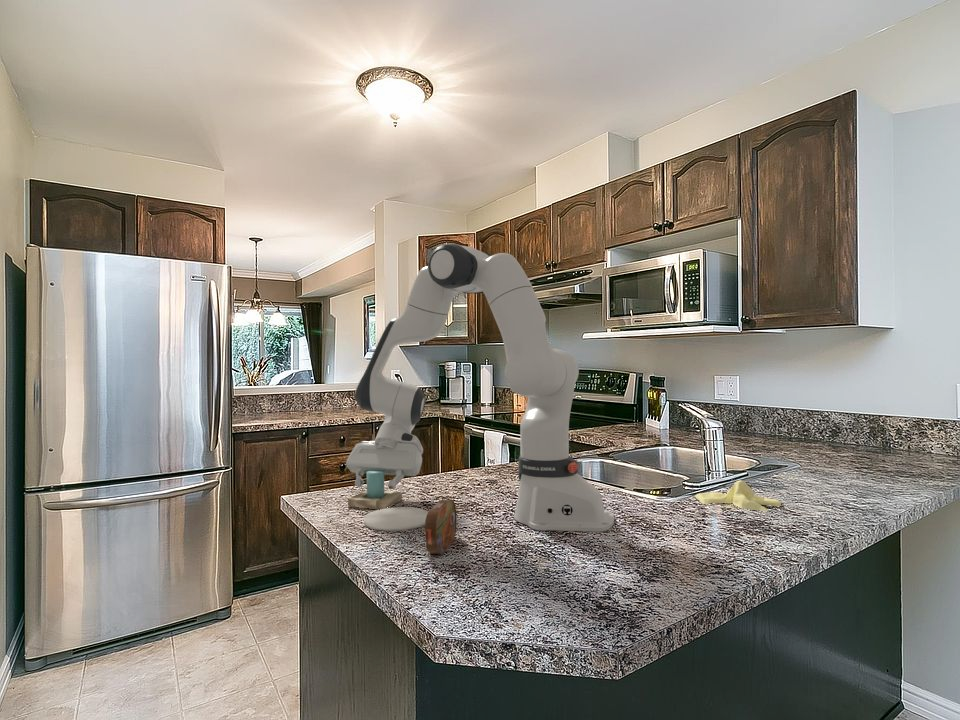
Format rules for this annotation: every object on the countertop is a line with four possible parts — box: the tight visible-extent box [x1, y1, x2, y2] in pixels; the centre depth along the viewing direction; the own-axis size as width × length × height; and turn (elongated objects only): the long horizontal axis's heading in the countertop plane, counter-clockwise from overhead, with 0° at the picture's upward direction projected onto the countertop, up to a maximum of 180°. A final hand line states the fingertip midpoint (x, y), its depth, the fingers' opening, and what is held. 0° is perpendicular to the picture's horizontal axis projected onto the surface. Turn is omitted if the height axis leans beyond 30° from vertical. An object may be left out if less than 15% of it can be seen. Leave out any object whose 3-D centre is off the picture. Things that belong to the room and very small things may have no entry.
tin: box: [424, 498, 458, 555], centre depth 109 cm, size 15×3×8 cm, turn 168°
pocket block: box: [347, 489, 403, 510], centre depth 141 cm, size 10×10×2 cm
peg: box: [366, 470, 385, 499], centre depth 141 cm, size 4×4×8 cm
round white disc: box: [363, 506, 429, 532], centre depth 126 cm, size 15×15×1 cm
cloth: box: [694, 480, 782, 511], centre depth 138 cm, size 22×19×6 cm
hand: (374, 486), depth 141 cm, fingers open, 8 cm apart
